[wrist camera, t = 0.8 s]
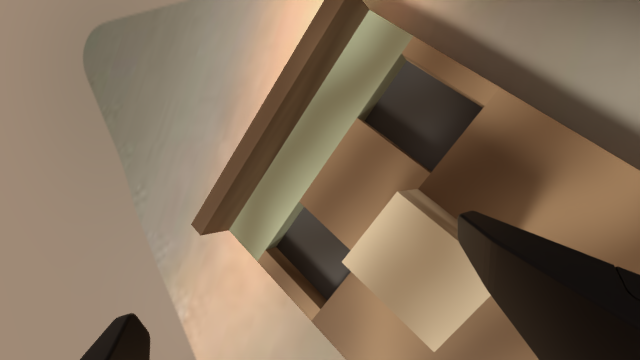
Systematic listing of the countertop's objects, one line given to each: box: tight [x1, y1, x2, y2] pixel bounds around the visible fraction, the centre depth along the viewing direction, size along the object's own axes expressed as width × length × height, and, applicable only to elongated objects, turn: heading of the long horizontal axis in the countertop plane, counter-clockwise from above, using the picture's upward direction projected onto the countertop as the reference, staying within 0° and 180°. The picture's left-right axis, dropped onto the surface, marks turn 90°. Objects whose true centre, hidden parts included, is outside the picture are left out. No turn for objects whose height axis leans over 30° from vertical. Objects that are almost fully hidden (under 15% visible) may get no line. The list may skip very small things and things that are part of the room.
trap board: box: [191, 0, 640, 360], centre depth 17 cm, size 25×16×4 cm, turn 53°
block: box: [342, 189, 491, 352], centre depth 16 cm, size 5×4×4 cm
